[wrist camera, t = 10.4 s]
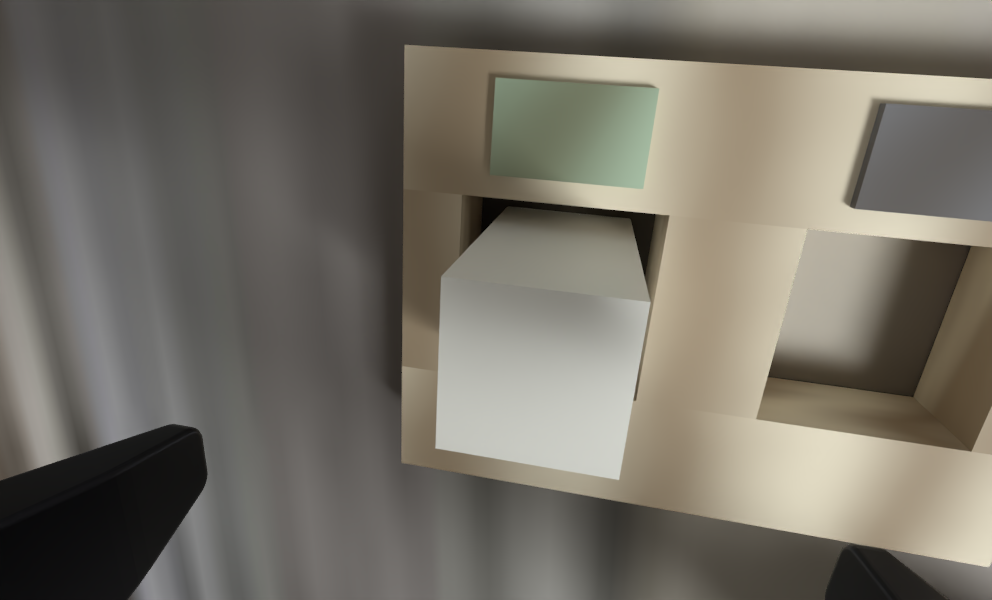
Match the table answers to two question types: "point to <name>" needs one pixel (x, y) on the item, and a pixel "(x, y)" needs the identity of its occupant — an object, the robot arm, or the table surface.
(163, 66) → the table surface
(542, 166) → the socket block
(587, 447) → the white squarish block
